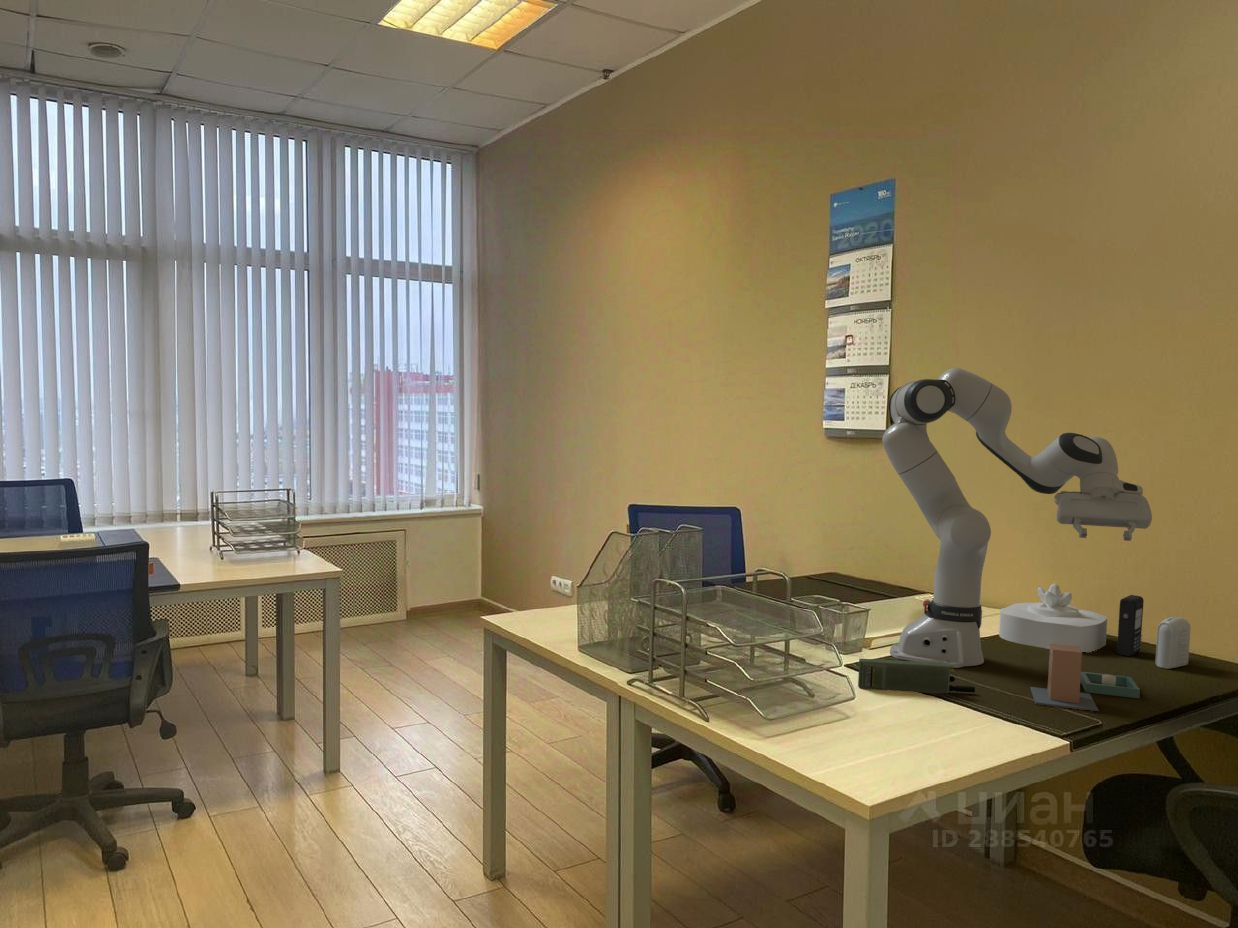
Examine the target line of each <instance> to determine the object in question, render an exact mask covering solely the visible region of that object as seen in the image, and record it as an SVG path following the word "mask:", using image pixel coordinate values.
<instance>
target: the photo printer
mask: <svg viewBox="0 0 1238 928" xmlns="http://www.w3.org/2000/svg"><path fill="white" fill-rule="evenodd" d="M1191 630H1192V629H1191V624H1190V622H1189V620H1187V619H1186V618H1183V617H1178V616H1171V617H1167V618H1166V619H1163V620H1162V621H1161V622H1160V623H1159V624H1158V627H1157V632H1156V649H1155V660H1154V661H1155V662H1154V663H1155V665H1156V667H1158V668H1161V669H1167V670H1168V669H1173V668H1174V669H1175V668H1179V667H1184V666H1187V665H1188V664H1189V658H1190V657H1189V655H1190V639H1191Z"/></svg>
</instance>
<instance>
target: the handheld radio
mask: <svg viewBox="0 0 1238 928" xmlns="http://www.w3.org/2000/svg"><path fill="white" fill-rule="evenodd" d="M858 661H859V662H858V677H857V678H858V679H857V686H858V688H859V690H860V689H861V690H862V689H863V690H874V691H875V690H878V691H893V692H908V693H924V694H925V693H926V694H939V693H949V694H950V692H961V693H972V694H973V693H975V692H976V687H975V686H971V685H969V686H968V685H950V683H954V682H955V680H956V678H955V677H954V676H952V675H951V673H955V669H954V668H953V667H950V666H955V665H954V664H951V663H934V662H916V661H909V660H898V659H895V660H894V659H893V660H892V659H877V658H875V659H872V658H860V657H859V659H858Z"/></svg>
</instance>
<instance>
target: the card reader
mask: <svg viewBox="0 0 1238 928" xmlns="http://www.w3.org/2000/svg"><path fill="white" fill-rule="evenodd" d="M1144 602H1145V601H1144V598H1143V596H1142V595H1141V596H1140V595H1134V594H1130V595H1127V596H1126V597H1123V598H1121V599H1120V601H1119V611H1118V613H1119V614H1118V627H1117V628H1118V629H1117V645H1116V646H1117V647H1116V651H1117V654H1118V655H1120V656H1124V657H1132V656H1134V655H1135V654H1136V653H1139V652H1140V650H1141V648H1142V639H1143V638H1142V637H1143V635H1142V631H1143V629H1142V628H1143V615H1144Z"/></svg>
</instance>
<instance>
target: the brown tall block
mask: <svg viewBox="0 0 1238 928" xmlns="http://www.w3.org/2000/svg"><path fill="white" fill-rule="evenodd" d="M1048 658H1049V659H1048V672H1047V673H1048V674H1047V675H1048V676H1047V688H1046V689H1047V693H1048V696H1049V698H1050V700H1056V701H1064V702H1072V703H1079V695H1080V693H1081V692H1080V691H1081V682H1080V678H1081V672H1082V661H1083V660H1082V659H1083V653H1082V652H1081V650H1080V648H1079V647H1078V646H1069V645H1059V644H1050V649H1049V657H1048Z"/></svg>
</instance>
